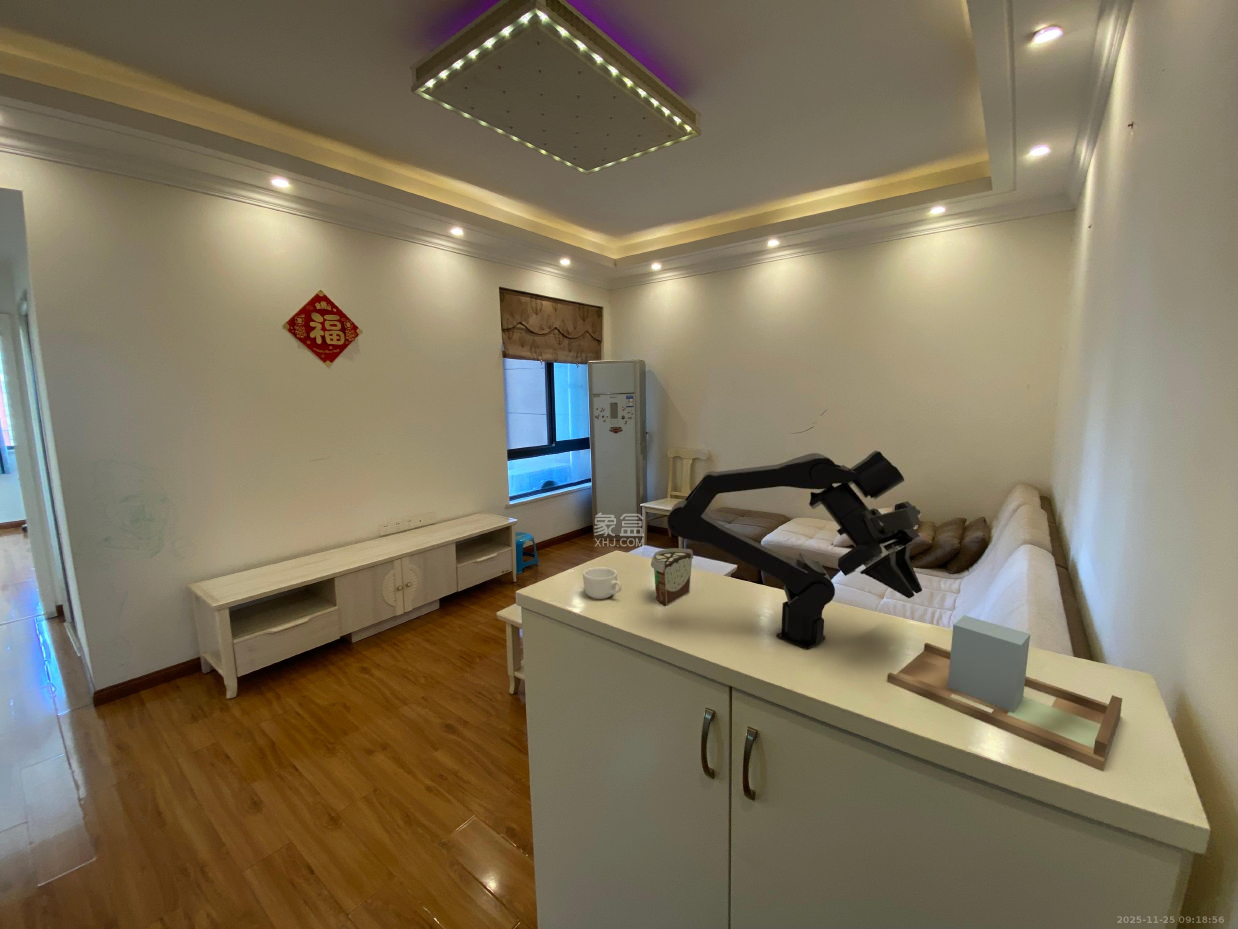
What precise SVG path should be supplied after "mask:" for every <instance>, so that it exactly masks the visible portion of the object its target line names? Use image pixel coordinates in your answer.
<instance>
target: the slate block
mask: <svg viewBox="0 0 1238 929" xmlns="http://www.w3.org/2000/svg"><path fill="white" fill-rule="evenodd" d="M1030 640H1031V633H1028V632H1025V631H1023V630H1022V631H1021V630H1018V629H1014V628H1011V627H1008V626H1007V627H1006V626H1004V625H1000V624H996V623H993V622H989V621H986V620H982V619H979V618H976V617H972V616H969V615H963V616H961V617H960V618H959V619H958V620H957V621H955V623H953V624H952V634H951V647H950V651H951V655H950V666H949V677H948V687H947V688H950V689H953V690H955V691H958V692H960V693H963V694H965V695H968V696H971V697H973V698H976V699H978V700H981V701H983V702H986V703H989V704H991V705H994V706H996V707H999V708H1001V709H1004V710H1007V711H1009V712H1012V713H1014V712H1015V710H1016V709H1017V707H1018V706H1019V704H1020V703H1021V701H1022V700H1023V696H1024V692H1025V686H1024V685H1025V676H1026V674H1027V666H1028V658H1029V648H1030Z"/></svg>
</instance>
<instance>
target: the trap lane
mask: <svg viewBox="0 0 1238 929" xmlns="http://www.w3.org/2000/svg"><path fill="white" fill-rule="evenodd" d="M950 655H951V649H950V650H949V649H946V648H943V647H942V646H941V647H940V646H938V645H935V644H931V643H929V642H925V643H924V646H923V650H922V651H921V652H920V653H919V654H918V655H916V656H915V657H914V658H913V659H912V660H911V661H909V662H908V663H907V664H906V665H905V666H903V668H901V669H900V670H899V671H898V672H896V673H895V674H894V673H892V672H888V673H887V676H886V677H887V678H886V681H887V682H886V683H889V684H892V685H894V686H896V687H899V688H901V689H903V690H906V691H908V692H911V693H914V694H916V695H918V696H920V697H923V698H925V699H927V700H930V701H932V702H935V703H938V704H939V705H941V706H942V705H943V706H944V707H946V708H949V709H952V710H955V711H957V712H959V713H961V714H964V715H966V716H969V717H970V718H973V719H976V720H979V721H981V722H983V723H985V724H988V725H990V726H993V727H995V728H997V729H1000V730H1002V731H1004V732H1008V733H1010V734H1012V735H1014V736H1017V737H1019V738H1022V739H1024V740H1027V741H1029V742H1031V743H1033V744H1036V745H1039V746H1041V747H1043V748H1046V749H1048V750H1050V751H1052V752H1056V753H1058V754H1061V755H1063V756H1065V757H1067V758H1070V759H1073V760H1075V761H1077V762H1079V763H1082V764H1084V765H1087V766H1089V767H1092V768H1094V769H1097V770H1099V771H1101V772H1103V771H1104V767H1105V765H1106V761H1107V758H1108V755H1109V752H1110V750H1111V746H1112V743H1113V740H1114V737H1115V735H1116V731H1117V728H1118V724H1119V722H1120V719H1121V714H1122V704H1123V698H1122V697H1119V696H1115V695H1113V694H1111V697H1110V699H1109V702H1108V703H1106V702H1104V701H1100V700H1098V699H1095V698H1091V697H1088V696H1086V695H1083V694H1080V693H1077V692H1074V691H1071V690H1068V689H1065V688H1061V687H1059V686H1056V685H1053V684H1050V683H1047V682H1044V681H1041V680H1038V679H1036V678H1033V677H1030V676H1025V685H1024V687H1026V688H1029V689H1032V690H1034V691H1037V692H1040V693H1043V694H1046V695H1048V696H1051V697H1055V699H1054V701H1053V702H1052V705H1049V704H1046V703H1043V702H1041V701H1038V700H1035V699H1032V698H1030V697H1026V696H1024V695H1023V700H1022V701H1021V703H1020V704H1019V706H1018V707H1017V709H1016V710H1015V712H1014V713H1012V712H1009V711H1007V710H1004V709H1001V708H999V707H996V706H994V705H991V704H989V703H986V702H983V701H981V700H978V699H976V698H973V697H971V696H968V695H965V694H963V693H960V692H958V691H955V690H953V689H950V688H947V687H948V677H949V666H950ZM952 695H956V696H959V697H961V698H963V699H966V700H969V701H971V702H973V703H976V704H979V705H982V706H984V707H986V708H989V709H991V710H992V711H991V712H990V711H988V710H985V709H983V708H981V707H978V706H976V705H973V704H970V703H967V702H965V701H962V700H960V699H958V698H955V697H952Z"/></svg>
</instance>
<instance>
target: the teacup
mask: <svg viewBox="0 0 1238 929" xmlns="http://www.w3.org/2000/svg"><path fill="white" fill-rule="evenodd" d="M582 579H583V586H584V591H585V593H586V594H587V595H588V596H589V597H591V598H592V599H595V600H605V599H608V598H610V597H611V596H612V595H614V594H618V593H620V592H622V589H623V588H622V587H623V586H622V584H621V583H620V582H619V580H618V572H617V570H616V569H614V568H611V567H606V566H595V567H589V568H586V569H584V570H583V572H582ZM617 585H618V590H617V589H616V588H617Z"/></svg>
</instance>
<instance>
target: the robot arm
mask: <svg viewBox="0 0 1238 929" xmlns="http://www.w3.org/2000/svg"><path fill="white" fill-rule="evenodd" d="M904 482H905V477H904V476H903V474H902V473H901V471H900V470H899V469H898V468H897V467H896V466H895V465H894V464H893V463H891V462H890V460H889V459H888V458H887V457H885V456H884V455H883V453H882V452H881V451H879V450H874V451H872V452H871V453H869V454H868V455H867V457H865V458H864V459H862V460H860V462H857V463H856V464H855V465H853V466H851V467H850V468H849V467H848V466H846V465H845V464H842V465H841V464H836V463H835V462H834V461H833V460H832V459H831V458H829V457H827V456H825V454H822V453H819V452H813V453H812V452H811V453H808V454H804V455H802V456H798V457H794V458H792V459H788V460H787V461H784V462H781V463H778V464H768V465H761V466H753V467H752V466H751V467H747V468H745V467H744V468H738V469H729V470H721V471H714V470H712V471H711V470H710V471H708V472H707V471H706V473H704V474H703V475H702V477H701V480H700V481H699V482H698V483H697V484H696V486H695V487H694V488H693V489H692V490H691V491H690V493H689V494H688V495H687V496H686V497H685V499H682V500H679V501H677V502H676V503H675V504H674V505H673V506H672V507H671V509H670V512H669V514H668V517H667V526H668V528H669V531H670V533H671V534H673V535H674V536H676V537H678V538H682V539H685V540H688V541H690V542H695V543H701V544H708V545H710V546H713V547H715V548H717V549H718V550H721V551H722V552H724V553H727V554H728V555H730V556H733V557H735V558H736V559H738V560H740V561H742V562H744V563H746V564H748V565H750V566H752V567H753V568H756V569H758V570H759V571H761V572H762V573H763V572H764V573H765V574H767V575H769V576H771V577H773V578H775V579H777V580H778V581H780V582H781V583H782V584H783V585H784V586H783V591H784V593H785V597H786V600H787V601H784V602H782V608H781V612H782V613H781V630H780V631H779V632H777V633H776V637H777V638H778V639H781V640H783V641H786V642H788V643H791V644H793V645H794V646H798V647H800V648H803V649H805V650H810V649H811V648H813V647H815V646H816V645H818V644H820V643H821V642H823V641H824V640H826V635H824V633H825V632H824V631H825V619H824V618H823V610H824V609H825V607H826V605H828V604H829V603H831V602H832V600H833V599H834V597H835V595H836V588H835V585H834V583H833V581H832V580H831V578H830V576H829V573H827V571H826V570H825V569H824V568H823V566H822V564H821V562H820V561H819V560H817V561H816V560H813V559H810V558H809V557H808V556H806V555H805V554H803V553H802V552H800V553H799V554H798V556H797V558H792V557H791V558H790V557H788V556H785V555H783V554H781V553H778V552H776V551H775V550H774V549H773V550H772V549H770V548H769V547H766V546H764V545H763V544H762V543H759V542H757V541H754V540H753V539H751V538H749V537H747V536H745V535H743V534H741V533H739V532H737V531H735V530H733V529H731V528H729V527H727V526H725V525H724V524H721V523H719V522H718V521H717V520H716V519H715V518H714V517H712V515H711V514H709V513H708V512H707V511H706V510H707V509H708V508H709V506H710V505H711V503H712V501H713V500H714V499H715V498H716V496H717V495H719V494H727V493H728V494H729V493H736V492H745V491H753V490H761V489H762V490H764V489H769V488H772V489H773V488H779V487H785V488H786V487H788V488H796V489H804V490H820V491H819V492H814V491H811V492H810V493H809V494H810V498H809V499H810V500H809V502H808V505H809V507H810V508H811V510H815V509H816V508H818V507H819V506H822V507H823V508H824V509H825V510H826V511H827V513H828V514H829V515H830V517H831V518H832V520H834V522H835V523H836V524H837V526H838V527H839V528H838V529H837V530H836V532H837V533H838V535H839V536H843V535H845V536H846V537H847V538H848V540H849V541H850V542H851V543H852V545H853V546H854V547H853V548H852V549H850V550H849V551H847V552H846V553H844V554H843V555H842V556H840V557H839V558H837V559H838V560H837V568H839V570H840V571H841V572H842V574H843V575H844V577H846V576H847V577H848V576H849V575H850V574H852V573H854V572H856V570H857V569H859V568H860V567H862V566H863V567H865V568H863V569H862V570H860V571H859V574H861V575H865V576H868V578H869V577H870V578H871V579H873V580H875V581H877V582H878V583H880V584H882V585H884V586H885V587H888V588H889V589H890V590H893V591H895V592H897V593H898V594H900V595H901V596H904V597H906V598H907V599H911V598H913V597H915V594H919V593H921V592H923V587H922V586H921V583H920V581H919V579H918V576H917V574H916V571H915V570H914V566H913V564H912V561H911V559H910V552H911V548H912V547H913V543H912V542H913V541H915V540H918V538H920V534H919V533H918V531H917V530H915V527H916V526H921V525H922V522H921V520H920V517H919V515H921V510H920V509H917V507H916V505H912V504H911V503H910V502H909V501H908V500H907V501H903V502H899V503H896V504H894V510H892V511H888V512H885V513H884V512H883V513H882V512H880V511H879V510H878V509H877V508H875V507H874V508H871V509H870V508H869V506H867V505H866V503H865V502H864V501H863V500H862V499H861V498H860V496H859V495H858V494H857V492H859V493H860V495H861V496H862V497H863V498H864V499H867V498H870V499H873V500H877V499H879V498H880V497H882V496H883V495H885V494H887V493H889V492H890V491H891V490H892V489H894V488H895V487H898V486H899V485H901V484H902V483H904ZM833 484H834V485H835V484H838V485H836V486H834V485H833ZM851 485H853V486H854V487H855V489H856V490H857V492H856V491H855V489H853V488H852V487H851Z"/></svg>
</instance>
